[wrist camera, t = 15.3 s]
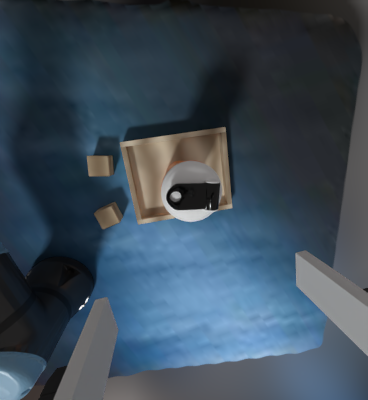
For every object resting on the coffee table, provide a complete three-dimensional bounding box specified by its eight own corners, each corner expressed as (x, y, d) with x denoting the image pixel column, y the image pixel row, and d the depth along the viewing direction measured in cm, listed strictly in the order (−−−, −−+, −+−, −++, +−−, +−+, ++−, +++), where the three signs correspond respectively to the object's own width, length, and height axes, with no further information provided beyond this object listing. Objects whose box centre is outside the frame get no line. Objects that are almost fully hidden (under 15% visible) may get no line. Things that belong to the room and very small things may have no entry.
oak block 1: (95, 173, 44) (88, 176, 40) (93, 155, 43) (86, 156, 39) (114, 173, 44) (109, 176, 40) (112, 155, 43) (107, 156, 39)
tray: (139, 219, 47) (138, 224, 44) (122, 142, 43) (119, 142, 40) (228, 204, 49) (232, 207, 46) (221, 128, 44) (225, 126, 41)
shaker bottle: (158, 159, 43) (155, 167, 24) (197, 153, 44) (226, 157, 25) (164, 198, 46) (166, 234, 26) (202, 192, 46) (230, 223, 27)
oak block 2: (107, 222, 47) (102, 229, 43) (99, 208, 46) (93, 213, 42) (123, 216, 47) (119, 222, 43) (115, 201, 46) (111, 206, 42)
